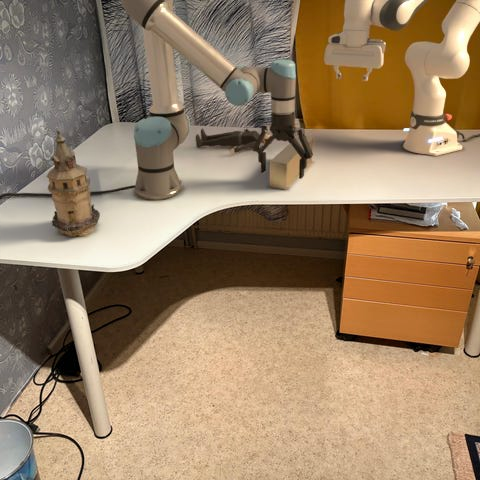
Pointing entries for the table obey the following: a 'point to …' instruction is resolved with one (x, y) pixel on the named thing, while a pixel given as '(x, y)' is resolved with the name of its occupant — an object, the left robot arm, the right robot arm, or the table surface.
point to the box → (286, 166)
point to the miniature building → (70, 193)
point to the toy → (230, 139)
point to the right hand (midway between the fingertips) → (351, 79)
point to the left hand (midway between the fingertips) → (282, 174)
